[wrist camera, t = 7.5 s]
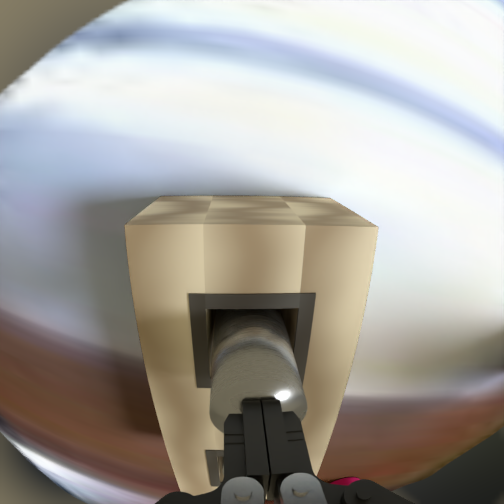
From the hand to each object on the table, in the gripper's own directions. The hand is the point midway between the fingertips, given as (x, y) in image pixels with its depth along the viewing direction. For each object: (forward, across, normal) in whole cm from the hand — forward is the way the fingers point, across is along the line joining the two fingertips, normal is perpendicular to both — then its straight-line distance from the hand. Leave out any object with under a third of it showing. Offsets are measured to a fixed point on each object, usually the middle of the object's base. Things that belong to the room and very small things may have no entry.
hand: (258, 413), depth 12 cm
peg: (+8, 0, 0) cm, 8 cm away
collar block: (+13, 0, +6) cm, 14 cm away
